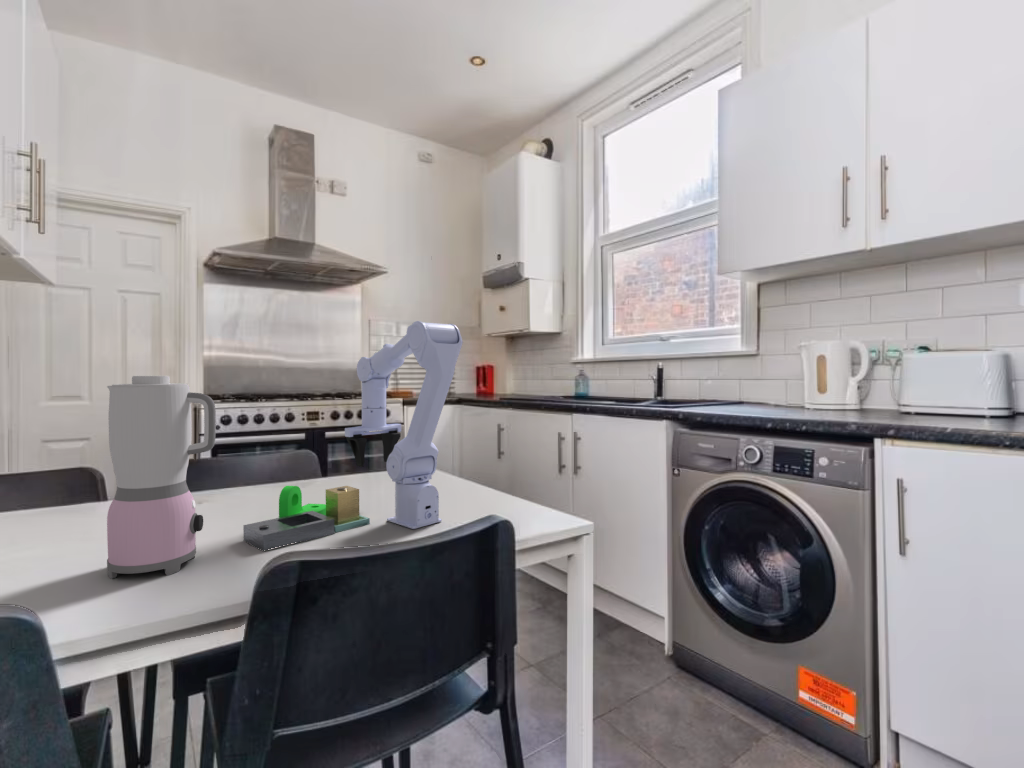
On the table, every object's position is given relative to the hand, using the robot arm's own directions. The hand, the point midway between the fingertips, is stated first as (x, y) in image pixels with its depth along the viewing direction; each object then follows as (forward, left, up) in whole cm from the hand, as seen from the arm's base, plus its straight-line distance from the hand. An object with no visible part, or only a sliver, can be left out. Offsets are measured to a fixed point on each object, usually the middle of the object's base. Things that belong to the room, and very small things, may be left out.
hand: (374, 464), depth 124 cm
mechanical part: (+2, +16, -11) cm, 19 cm away
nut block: (-7, +13, -10) cm, 17 cm away
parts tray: (-7, +13, -10) cm, 18 cm away
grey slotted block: (-7, +24, -10) cm, 27 cm away
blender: (-6, +45, -11) cm, 47 cm away
